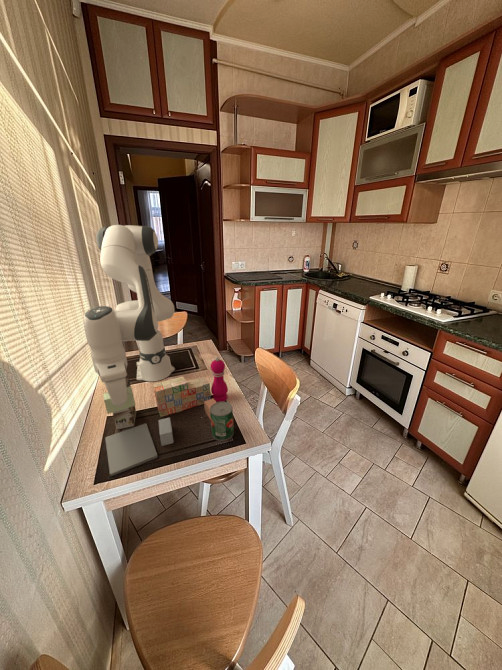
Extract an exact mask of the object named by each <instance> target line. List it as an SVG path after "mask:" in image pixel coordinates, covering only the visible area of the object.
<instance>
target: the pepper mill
mask: <svg viewBox="0 0 502 670" xmlns="http://www.w3.org/2000/svg"><path fill="white" fill-rule="evenodd" d="M225 369H226V364H225V362H224V361H223V360H222V359H220V357H218V356H216V357H215V359H214V360H212V362H211V363H210V370H211V371H212V372H211V373H212V376H213V382H212V384H211V386H210V392H211V395H212V399H214V400H215V401H216V402H222V401H223V402H226V401H227V400H228V392H229V387H228V385H227V383H226V381H225V380H224V375H225Z"/></svg>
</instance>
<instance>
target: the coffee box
mask: <svg viewBox="0 0 502 670" xmlns="http://www.w3.org/2000/svg"><path fill="white" fill-rule="evenodd" d="M125 379H126V387H130V386H131V381H130V378H129V377H127V378H126V377H125ZM112 415H113V416H112V417H113V420H114V424H115V427H116V430H121V429H127V428H134V427H135V422H136V417H137V416H136V415H137V410H136V406H132V407H129V408H126V409H122V410H119V411H116V412H113V413H112Z"/></svg>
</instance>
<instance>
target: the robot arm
mask: <svg viewBox="0 0 502 670" xmlns="http://www.w3.org/2000/svg"><path fill="white" fill-rule="evenodd" d="M95 240H96V244H97V245H96V246H97V247H98V249H99V251H100V259H99V260H100V261H99V262H100V265H101V266H100V267H101V269H102V271H103V272H104V273H105V275H107V276H108V277H109V278H111V279H113V280H114V281H117V282H120V283H124V284H127V286H128V289H129V290H130V291H132V292H134V293H136V296H137V300H127V301H124V302H121V303H118V304H117V305H116V307H115V309H113V308H112V307H111V306H106V305H101V306H95V307H92V308H90V309H88V310H86V312H84V314H83V327H84V334H85V338H86V342H87V344H88V346H89V348H90V351H91V352H90V357H91V360H92V364H93V368H94V372H95V373H96V374H97V375H98V376H99V378H100V381H101V382H102V383H104V385H105V388H106V391H107V392H108V394H109V396H110V399H111V401H112V403H113V405H115V406H116V405H118V407H123V406H124V403H126V402H127V388H126V377H127V376H128V372H127V369H128V365H129V363H128V359H127V354H126V349H125V346H124V345H123V342H129V341H132V342H133V341H136V342H137V344H138V347H139V354H138V355H139V361H136V367H137V369H136V380H137V381H145V382H158V381H162V380H164V379H166V378H168V377H169V376H171V374H172V373H173V372H174V371H175V370H176V368H175V367H174V366H173V365H172V364H171V359H170V356H169V355H167V353H166V347H165V346H164V345H165V344H164V338H163V334H162V332H161V331H160V330H159V322H163V321H166V320H169V319H172V318H173V316H174V314H175V305H174V303H173V301H172V300H171V299H170V298H168V297H166V296H165V295H163V294H162V293H161V292H160V291H159V289H158V288H157V286H156V282H155V279H154V273H153V268H152V262H151V258H150V257H151V256H152V255H153V254H155V253H156V252H157V250H158V246H159V238H158V236H157V233H156V231H155V230H154V229H153V227H151V226H148V225H129V224H128V225H127V224H125V225H122V224H112V225H110V226H103V227H101V228H99V229H98V230H97V231H96V235H95Z"/></svg>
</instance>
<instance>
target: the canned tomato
mask: <svg viewBox="0 0 502 670" xmlns="http://www.w3.org/2000/svg"><path fill="white" fill-rule="evenodd" d="M233 407H234V406H233V404H231V403H230V402H227V401H224V402H223V401H222V402H217V403H214V404H213V405H212V406H211V407H210V415H211V419H210V425H211V435H212V437H213V439H214V440H215V441H220V442H223V441H224V442H225V441H228V440H230V439H231V438H232V437H233V436H234V433H235V431H234V428H235V427H234V409H233Z"/></svg>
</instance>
